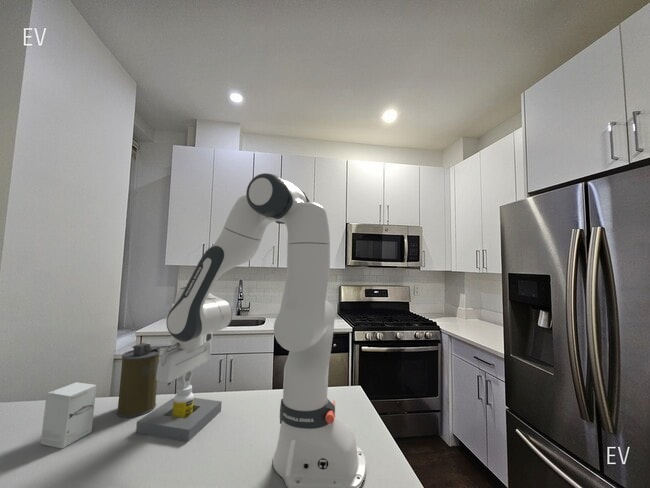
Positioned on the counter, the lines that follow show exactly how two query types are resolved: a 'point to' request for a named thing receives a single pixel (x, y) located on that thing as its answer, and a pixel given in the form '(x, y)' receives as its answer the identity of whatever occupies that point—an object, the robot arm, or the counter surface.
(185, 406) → the supplement bottle
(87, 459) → the counter surface
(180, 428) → the socket block
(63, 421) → the supplement box
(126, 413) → the canister
